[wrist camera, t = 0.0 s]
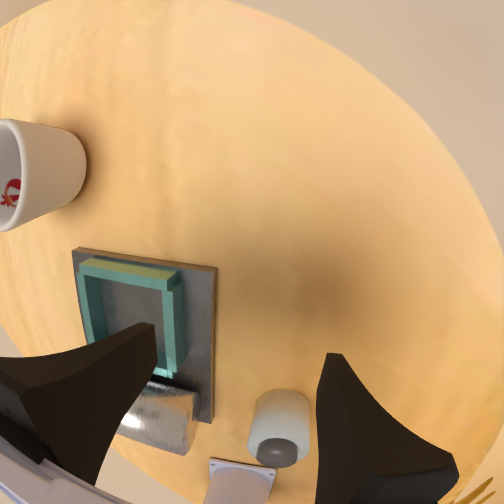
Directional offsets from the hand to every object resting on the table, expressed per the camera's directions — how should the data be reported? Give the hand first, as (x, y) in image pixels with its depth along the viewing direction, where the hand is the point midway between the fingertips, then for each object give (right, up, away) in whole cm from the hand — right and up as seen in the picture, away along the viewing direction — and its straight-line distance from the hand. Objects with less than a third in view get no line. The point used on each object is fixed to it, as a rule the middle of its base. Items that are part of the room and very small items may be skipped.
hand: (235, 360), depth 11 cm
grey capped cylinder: (+3, -10, +13) cm, 17 cm away
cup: (-16, +13, +10) cm, 23 cm away
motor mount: (-9, -4, +13) cm, 16 cm away
